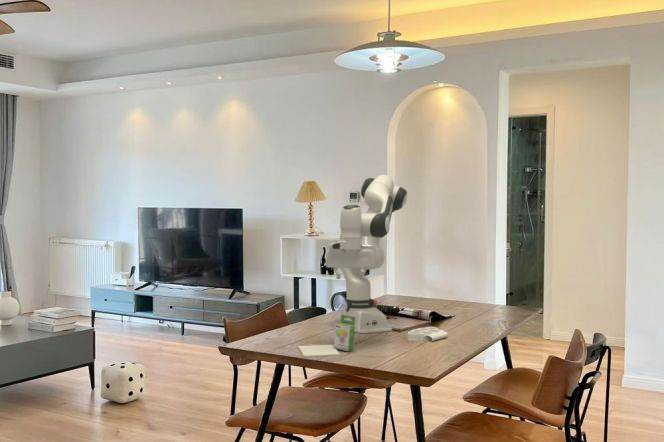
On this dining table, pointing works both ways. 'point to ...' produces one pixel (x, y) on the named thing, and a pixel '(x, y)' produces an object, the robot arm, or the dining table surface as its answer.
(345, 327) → the ink box
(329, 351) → the mat
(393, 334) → the dining table surface
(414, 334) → the folded white cloth
